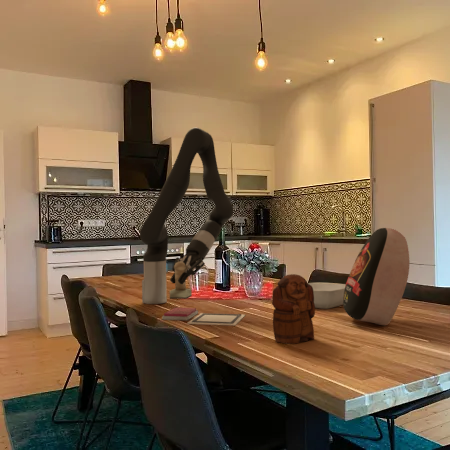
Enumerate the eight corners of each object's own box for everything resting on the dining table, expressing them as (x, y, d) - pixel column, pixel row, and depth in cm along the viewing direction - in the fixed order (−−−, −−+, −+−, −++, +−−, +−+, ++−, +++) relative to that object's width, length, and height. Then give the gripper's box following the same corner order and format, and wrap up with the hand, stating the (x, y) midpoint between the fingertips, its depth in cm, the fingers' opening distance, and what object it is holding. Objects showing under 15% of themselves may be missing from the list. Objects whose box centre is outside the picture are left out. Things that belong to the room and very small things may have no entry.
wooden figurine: (285, 346, 120) (284, 277, 120) (270, 340, 126) (269, 274, 126) (319, 339, 126) (318, 274, 126) (304, 335, 132) (303, 272, 131)
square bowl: (283, 306, 179) (283, 286, 179) (312, 299, 194) (311, 280, 194) (330, 312, 165) (330, 291, 165) (357, 304, 180) (357, 284, 180)
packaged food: (337, 315, 158) (335, 228, 158) (394, 315, 157) (393, 227, 157) (352, 330, 136) (351, 228, 136) (420, 329, 135) (418, 227, 135)
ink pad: (162, 319, 156) (162, 313, 156) (174, 312, 168) (174, 307, 168) (187, 320, 154) (187, 314, 154) (198, 313, 166) (197, 307, 166)
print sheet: (187, 323, 149) (187, 321, 149) (201, 314, 164) (201, 312, 164) (235, 325, 145) (235, 323, 145) (245, 315, 161) (245, 313, 161)
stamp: (169, 298, 159) (168, 262, 159) (175, 296, 164) (174, 260, 165) (186, 298, 157) (185, 262, 157) (191, 296, 163) (190, 260, 163)
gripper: (182, 238, 171) (157, 274, 162) (208, 238, 161) (183, 276, 153) (193, 251, 175) (169, 287, 166) (219, 252, 165) (195, 290, 156)
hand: (176, 282), depth 159 cm, fingers closed on stamp, 3 cm apart
